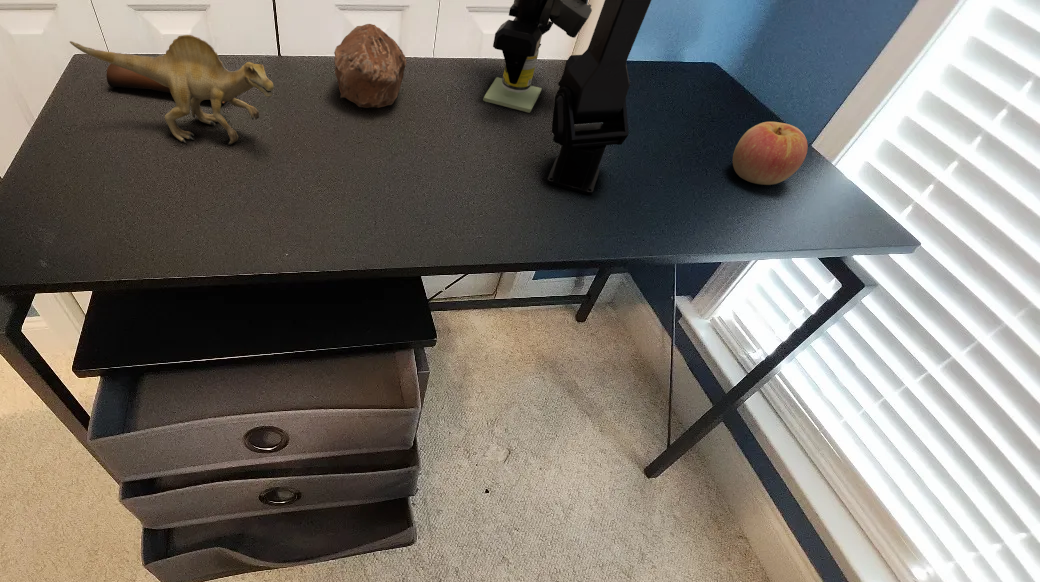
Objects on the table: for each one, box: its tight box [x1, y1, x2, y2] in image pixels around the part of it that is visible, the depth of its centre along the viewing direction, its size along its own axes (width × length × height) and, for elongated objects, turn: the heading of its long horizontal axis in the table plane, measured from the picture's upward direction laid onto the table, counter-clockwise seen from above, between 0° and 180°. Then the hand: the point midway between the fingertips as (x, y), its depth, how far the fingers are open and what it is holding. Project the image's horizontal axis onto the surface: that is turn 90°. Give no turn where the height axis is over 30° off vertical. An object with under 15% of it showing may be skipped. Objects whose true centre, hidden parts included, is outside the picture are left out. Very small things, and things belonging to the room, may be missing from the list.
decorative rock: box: [333, 23, 407, 109], centre depth 92 cm, size 13×11×10 cm
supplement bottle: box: [502, 48, 540, 93], centre depth 95 cm, size 5×5×8 cm
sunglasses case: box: [105, 63, 226, 105], centre depth 92 cm, size 18×7×7 cm
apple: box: [732, 121, 809, 186], centre depth 86 cm, size 9×9×8 cm
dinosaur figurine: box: [69, 34, 275, 145], centre depth 82 cm, size 8×26×13 cm, turn 81°
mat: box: [482, 76, 543, 114], centre depth 99 cm, size 8×8×1 cm
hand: (517, 76), depth 97 cm, fingers closed on supplement bottle, 5 cm apart
